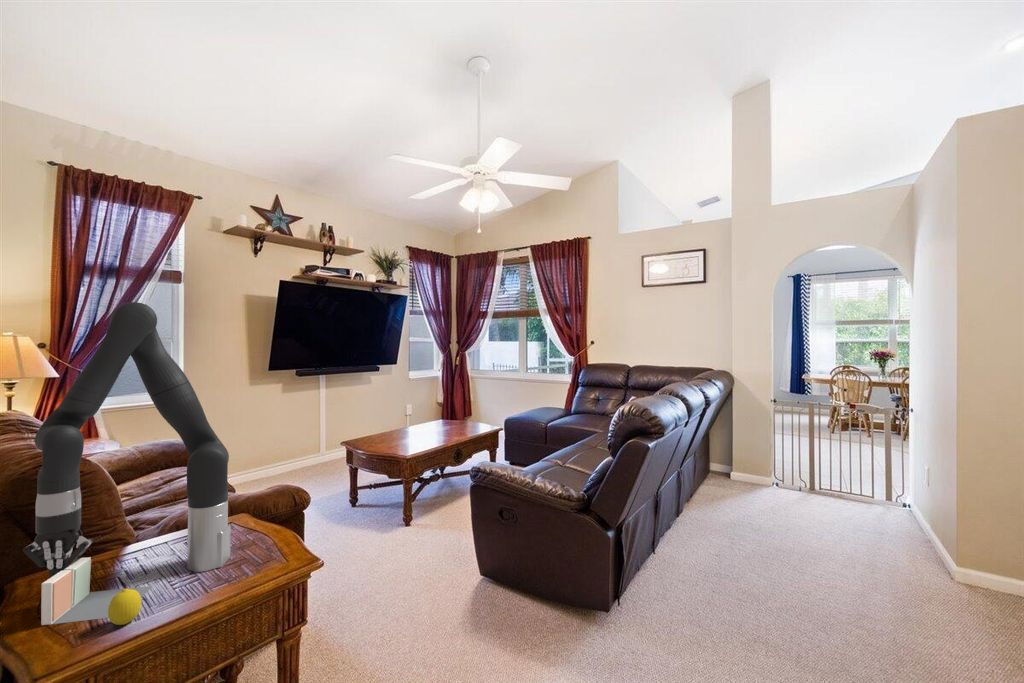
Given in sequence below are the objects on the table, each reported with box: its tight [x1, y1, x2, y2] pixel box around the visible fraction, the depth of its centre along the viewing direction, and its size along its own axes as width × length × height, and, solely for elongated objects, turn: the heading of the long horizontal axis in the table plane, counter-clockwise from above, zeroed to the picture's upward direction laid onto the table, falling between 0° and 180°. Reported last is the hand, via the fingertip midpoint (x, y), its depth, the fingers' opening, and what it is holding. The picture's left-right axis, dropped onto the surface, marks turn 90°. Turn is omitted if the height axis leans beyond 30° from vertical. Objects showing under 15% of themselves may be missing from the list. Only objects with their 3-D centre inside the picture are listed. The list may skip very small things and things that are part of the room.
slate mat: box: [48, 585, 154, 625], centre depth 104 cm, size 15×13×1 cm
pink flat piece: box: [40, 570, 71, 626], centre depth 99 cm, size 2×6×9 cm, turn 13°
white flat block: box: [64, 556, 92, 608], centre depth 105 cm, size 2×6×9 cm, turn 13°
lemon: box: [108, 588, 142, 626], centre depth 97 cm, size 6×6×8 cm
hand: (58, 582), depth 104 cm, fingers closed
